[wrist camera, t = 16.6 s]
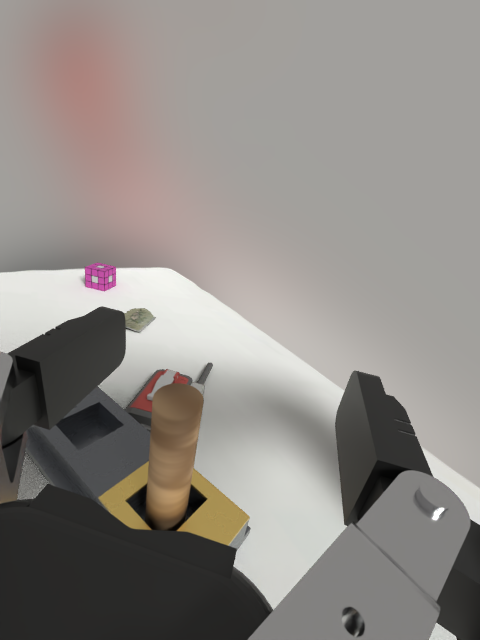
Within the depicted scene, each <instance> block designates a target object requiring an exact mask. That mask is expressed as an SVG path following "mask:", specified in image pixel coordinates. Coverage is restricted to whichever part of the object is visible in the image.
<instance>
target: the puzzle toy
mask: <svg viewBox="0 0 480 640" xmlns="http://www.w3.org/2000/svg"><path fill="white" fill-rule="evenodd" d="M85 280H86V281H85V282H86V287H88V288H93V289H97V290H101V291H106V290H108V289H110V288H112V287H114V286H116V267H114V266H109V265H105V264H101V263H95V264H92V265H90V266H87V267H85Z"/></svg>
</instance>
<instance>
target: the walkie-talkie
mask: <svg viewBox="0 0 480 640" xmlns="http://www.w3.org/2000/svg"><path fill="white" fill-rule="evenodd" d="M212 366H213V364H212V363H208V365H207V366H206V368H205V370H204V372H203V374H202V375H201V377H200V379H199V381H197V383H194V382H192V378H190V377H189V376H186V375H182V374H180V373H179V372H175V371H172V370H168V369H166V370H163V369H162V370H157V371H156V372H155V373H154V374H153V376H152V377H151V378H150V379H149V380H148V382H147V383H146V384H145V385H144V387H143V388H142V389H141V391H139V393H138V395H136V397H135V398H134V400H132V402H130V404H129V405H128V407H126V409H125V411H126V412H127V413H128V414H129V415H131V416H132V417H133V418H134V419H135V420H136V421H138V422H139V423H140V424H141V425H142V426H143V427H144V428H146V429H147V430H148V431H149V432H150V433H151V417H152V401H153V395H154V393H155V392H156V391H157V390H158V389H159V388H161V387H163V386H165V385H168V384H173V383H182V384H187V385H190V386H193V387H195V388H196V389H197V390H199V391H200V392H201V394H202V395H203V393H204V382H205V380H206V378H207V376H208V374H209V372H210V370H211V368H212Z"/></svg>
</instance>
